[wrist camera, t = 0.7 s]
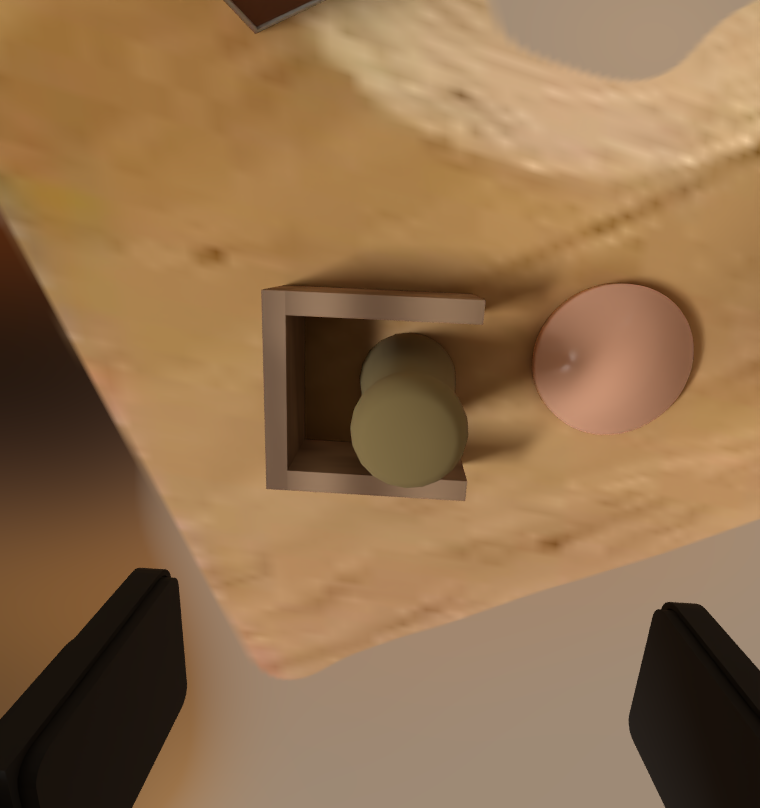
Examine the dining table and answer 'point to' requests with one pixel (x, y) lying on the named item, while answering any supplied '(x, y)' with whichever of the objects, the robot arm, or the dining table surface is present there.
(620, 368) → the terracotta coaster
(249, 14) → the food container
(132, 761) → the robot arm
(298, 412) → the walnut shelf bay
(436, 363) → the olive peg doll
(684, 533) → the dining table surface
